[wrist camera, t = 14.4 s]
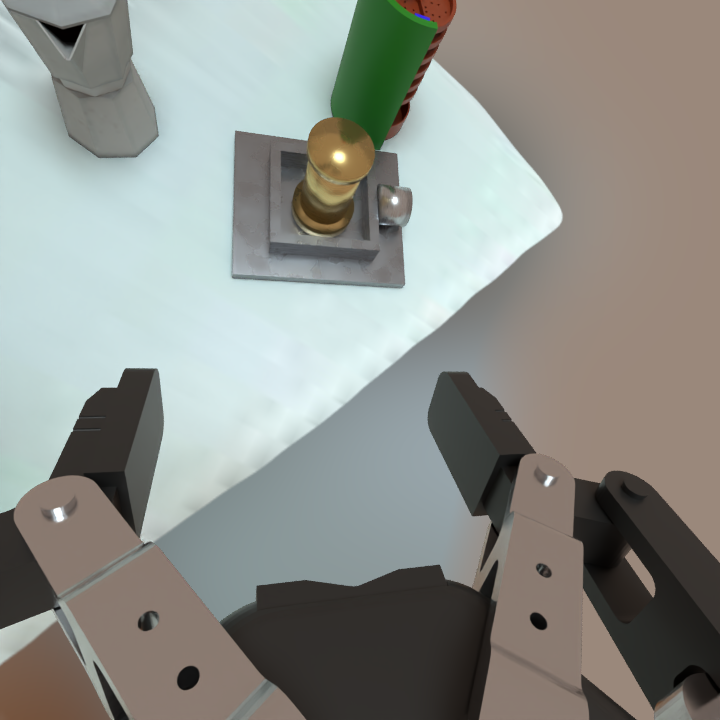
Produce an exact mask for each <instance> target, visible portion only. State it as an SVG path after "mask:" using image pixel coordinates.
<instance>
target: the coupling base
mask: <svg viewBox="0 0 720 720" xmlns="http://www.w3.org/2000/svg"><path fill="white" fill-rule="evenodd" d="M307 143H308V141H304V140H297V139H290V138H283V137H276V136H269V135H262V134H255V133H248V132H241V131H235V172H234V220H233V267H232V277H233V278H244V279H261V280H278V281H295V282H311V283H328V284H345V285H361V286H378V287H395V288H402V287H403V286H404V285H405V275H404V259H403V242H402V227H405V226H406V225H407V223H408V221H409V219H410V215H411V211H412V192H411V189H410V188H407V187H399V176H398V160H397V154H395V153H388V152H381V151H375V158H374V162H373V165H372V167H371V169H370V171H369V173H368V175H367V176H366V177H365V178H364V179H363V180H362V181H360V183H359V185H358V187H357V190H356V192H355V194H354V197H353V200H354V213H353V216H352V218H351V220H350V222H349V225H348V226H347V228H346V229H345V230H344V231H343V232H342V233H341V234H339V235H338V236H335V237H321V236H312V235H310V234H308V233H306V232H305V231H303V230H302V229H301V228H300V227H299V226H298V224H297V223H296V221H295V220H294V217H293V214H292V208H291V207H292V200H293V195H294V191H295V188H296V187H297V185H298V184H299V183H300V182H301V181H302V180H303V179H304V178H305V173H306V169H307V165H308V158H307V151H306V149H307Z"/></svg>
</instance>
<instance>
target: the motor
mask: <svg viewBox="0 0 720 720" xmlns="http://www.w3.org/2000/svg"><path fill="white" fill-rule="evenodd" d="M455 12H456V0H358V1H357V5H356V8H355V12H354V16H353V19H352V23H351V27H350V31H349V34H348V38H347V42H346V45H345V49H344V53H343V56H342V60H341V64H340V67H339V71H338V75H337V78H336V82H335V86H334V89H333V93H332V97H331V110H332V114H333V117H338V118H344V119H348V120H350V121H353V122H355V123H356V124H358V125H359V126H361V127H362V128H363V129H364V130H365V131H366V132H367V133H368V135H369V136H370V138H371V140H372V142H373V144H374V148H375V150H380V148H381V146H382V144H383V142H384V140H387V139H390V138H392V137H393V136H395V135H396V134H397V133H398V132H399V130H400V129H401V127H402V125H403V123H404V121H405V119H406V117H407V115H408V113H409V109H410V100H411V99H412V98H413V97H414V95H415V93H416V91H417V88H418V86H419V84H420V83H421V81H422V79H423V77H424V74H425V72H426V71H427V69H428V67H429V65H430V63H431V60H432V58H433V57H434V55H435V53H436V51H437V49H438V46H439V43H440V42H441V41H442V39H443V37H444V35H445V33H446V31H447V27H448V26H449V25H450V23H451V21H452V19H453V17H454V15H455Z"/></svg>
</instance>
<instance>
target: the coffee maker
mask: <svg viewBox="0 0 720 720" xmlns="http://www.w3.org/2000/svg"><path fill="white" fill-rule="evenodd" d="M2 2H3V4H4V5H5V7H6V8H7V10H8V11H9V13H10V14H11V16H12V17H13V19H14V20H15V22H16V23H17V24H18V26H19V27H20V29H21V30H22V32H23V33H24V35H25V36H26V38H27V39H28V40H29V42H30V43H31V45H32V46H33V48H34V49H35V51H36V52H37V54H38V55H39V56H40V58H41V59H42V61H43V62H44V64H45V65H46V67H47V68H48V70H49V71H50V72H51V75H52V80H53V84H54V87H55V90H56V94H57V97H58V101H59V104H60V107H61V111H62V114H63V118H64V121H65V124H66V128H67V131H68V134H69V137H71V138H72V139H73V140H75V141H76V142H78V143H79V144H80V145H82V146H83V147H85V148H86V149H87V150H89V151H90V152H92V153H93V154H94V155H96V156H97V157H99V158H114V157H137V156H138V155H139V154H140V153H141V152H142V151H143V150H144V149H145V148H146V147H147V146H148V145H150V144H151V143H152V142H153V141H154V140H155V139H156V138H157V137H158V136H159V135H158V128H157V122H156V115H155V108H154V105H153V103H152V101H151V99H150V97H149V95H148V93H147V91H146V89H145V87H144V85H143V83H142V81H141V78H140V76H139V74H138V72H137V70H136V68H135V66H134V64H133V62H132V60H131V57H132V55H133V48H132V39H131V30H130V21H129V12H128V3H127V0H2Z"/></svg>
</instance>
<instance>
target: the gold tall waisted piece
mask: <svg viewBox="0 0 720 720" xmlns="http://www.w3.org/2000/svg"><path fill="white" fill-rule="evenodd" d="M306 151H307V158H308V165H307V169H306V173H305V178H304V179H303V180H302V181H301V182H300V183H299V184H298V185H297V187H296V188H295V191H294V195H293V200H292V207H291V208H292V214H293V217H294V220H295V221H296V223H297V224H298V226H299V227H300V228H301V229H302V230H303V231H305V232H306V233H308V234H310V235H312V236H321V237H335V236H338V235H339V234H341V233H342V232H343V231H344V230H345V229H346V228H347V226H348V225H349V222H350V220H351V218H352V216H353V213H354V200H353V197H354V194H355V192H356V190H357V187H358V185H359V183H360V181H362V180H363V179H364V178H365V177H366V176H367V175H368V173H369V171H370V169H371V167H372V165H373V162H374V158H375V148H374V144H373V142H372V140H371V138H370V136H369V135H368V133H367V132H366V131H365V130H364V129H363V128H362V127H361V126H359V125H358V124H356V123H355V122H353V121H350V120H348V119H344V118H338V117H332V118H327V119H324V120H322V121H320V122H318V123H317V124H316V125H315V126H314V127H313V128H312V130H311V132H310V134H309V138H308V143H307V149H306Z"/></svg>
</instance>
